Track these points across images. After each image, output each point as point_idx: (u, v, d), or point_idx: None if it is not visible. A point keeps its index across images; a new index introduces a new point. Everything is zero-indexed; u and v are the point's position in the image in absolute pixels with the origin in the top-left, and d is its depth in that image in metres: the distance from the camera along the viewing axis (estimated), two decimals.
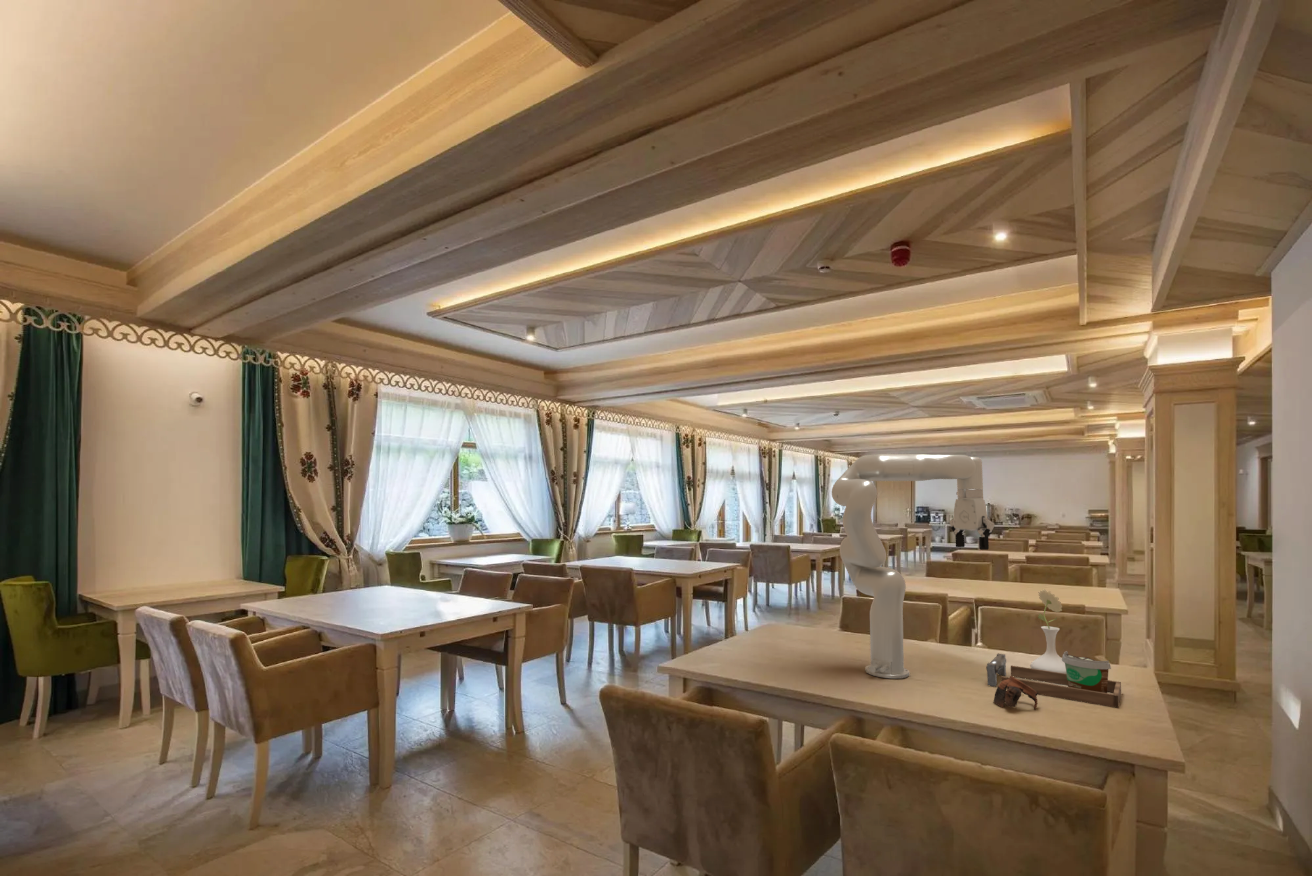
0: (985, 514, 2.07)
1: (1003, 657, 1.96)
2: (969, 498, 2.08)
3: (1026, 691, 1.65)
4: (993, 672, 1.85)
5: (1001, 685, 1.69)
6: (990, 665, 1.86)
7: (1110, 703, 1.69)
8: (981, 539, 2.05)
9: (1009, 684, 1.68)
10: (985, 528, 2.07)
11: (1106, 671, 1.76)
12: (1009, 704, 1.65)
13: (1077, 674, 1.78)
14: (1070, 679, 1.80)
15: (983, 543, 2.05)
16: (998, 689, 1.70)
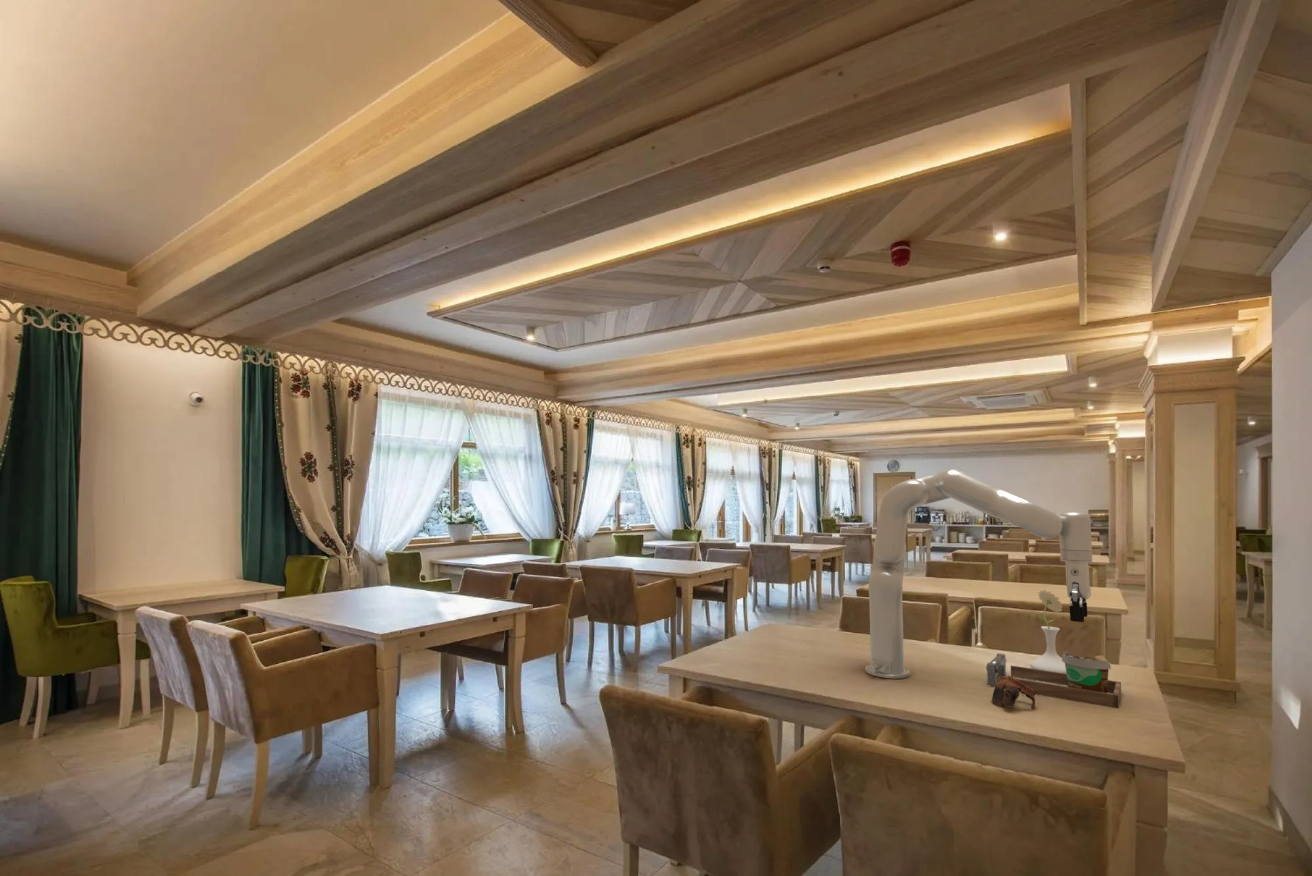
0: None
1: (1003, 657, 1.96)
2: None
3: (1024, 691, 1.66)
4: (993, 672, 1.85)
5: (999, 685, 1.70)
6: (990, 665, 1.86)
7: (1110, 703, 1.69)
8: None
9: (1007, 684, 1.68)
10: None
11: (1106, 671, 1.76)
12: (1007, 704, 1.66)
13: (1077, 674, 1.78)
14: (1070, 679, 1.80)
15: (1083, 608, 1.85)
16: (996, 689, 1.70)
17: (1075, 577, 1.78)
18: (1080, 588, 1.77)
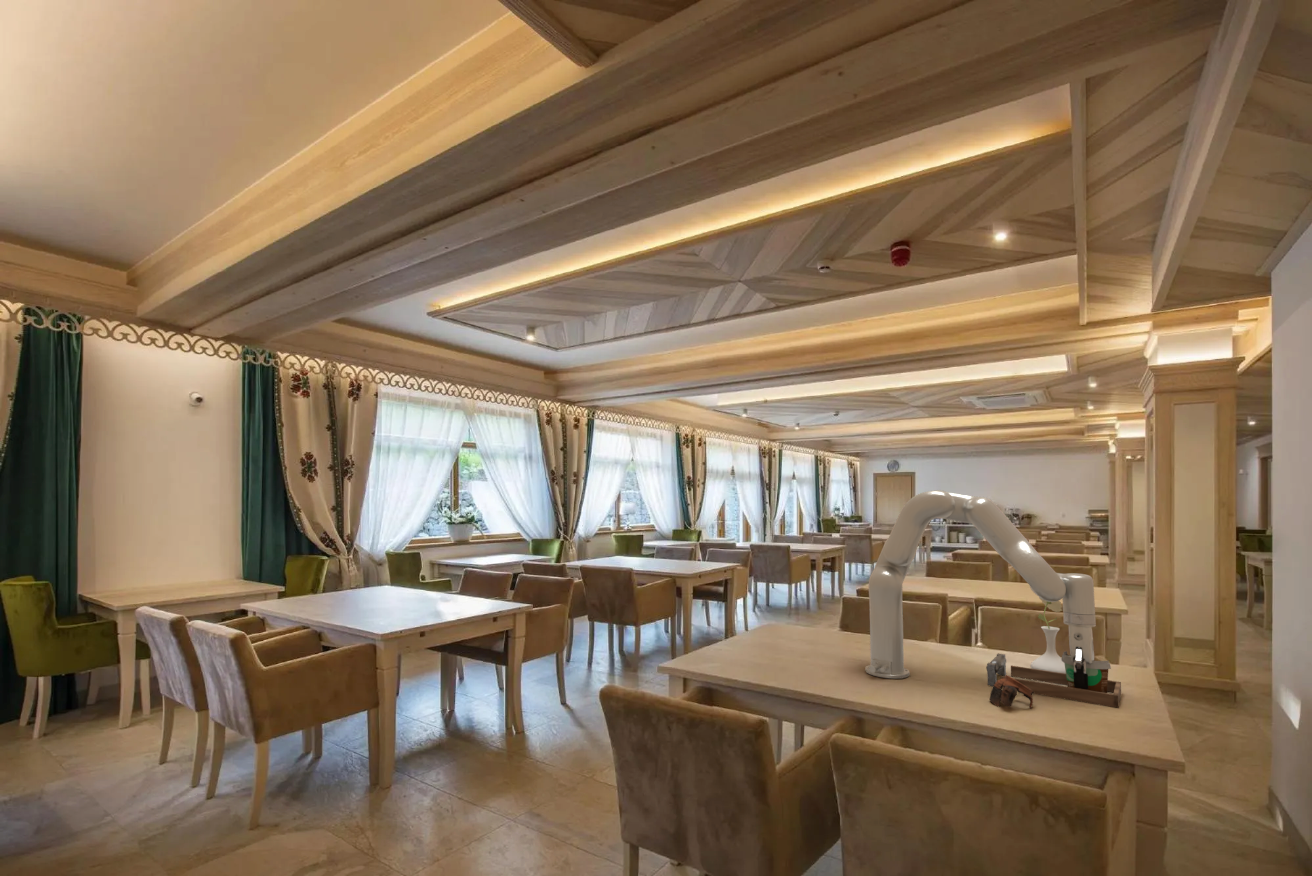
0: None
1: (1003, 657, 1.96)
2: None
3: (1022, 690, 1.66)
4: (993, 672, 1.85)
5: (997, 684, 1.70)
6: (990, 665, 1.86)
7: (1110, 703, 1.69)
8: None
9: (1005, 683, 1.68)
10: None
11: (1106, 671, 1.76)
12: (1005, 703, 1.66)
13: None
14: (1070, 679, 1.80)
15: None
16: (994, 688, 1.71)
17: (1078, 641, 1.76)
18: (1083, 653, 1.75)
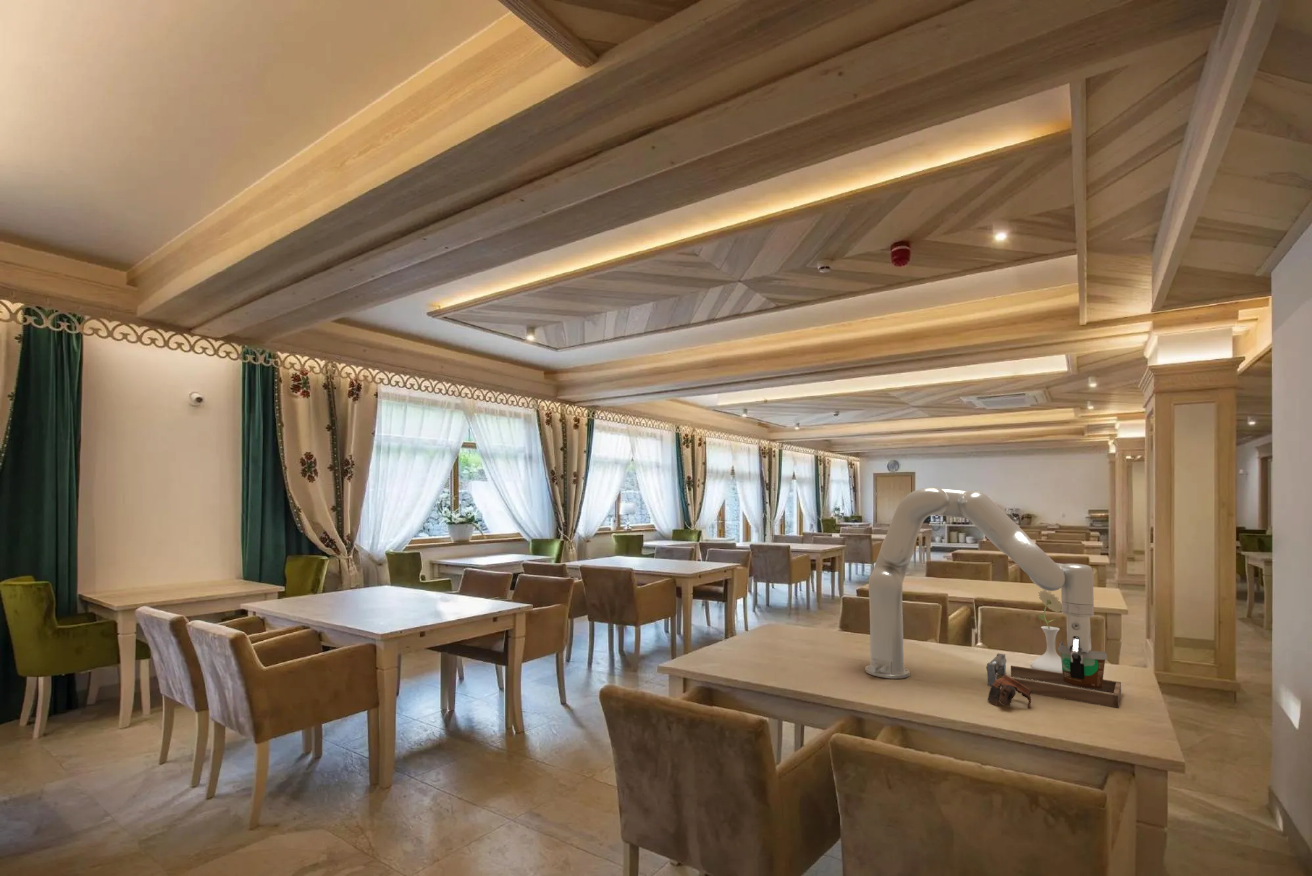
0: None
1: (1003, 657, 1.96)
2: None
3: (1020, 690, 1.67)
4: (993, 672, 1.85)
5: (995, 684, 1.70)
6: (990, 665, 1.86)
7: (1110, 703, 1.69)
8: None
9: (1003, 683, 1.69)
10: None
11: (1103, 661, 1.76)
12: (1003, 703, 1.66)
13: None
14: (1066, 669, 1.80)
15: None
16: (992, 688, 1.71)
17: (1076, 631, 1.77)
18: (1081, 642, 1.76)
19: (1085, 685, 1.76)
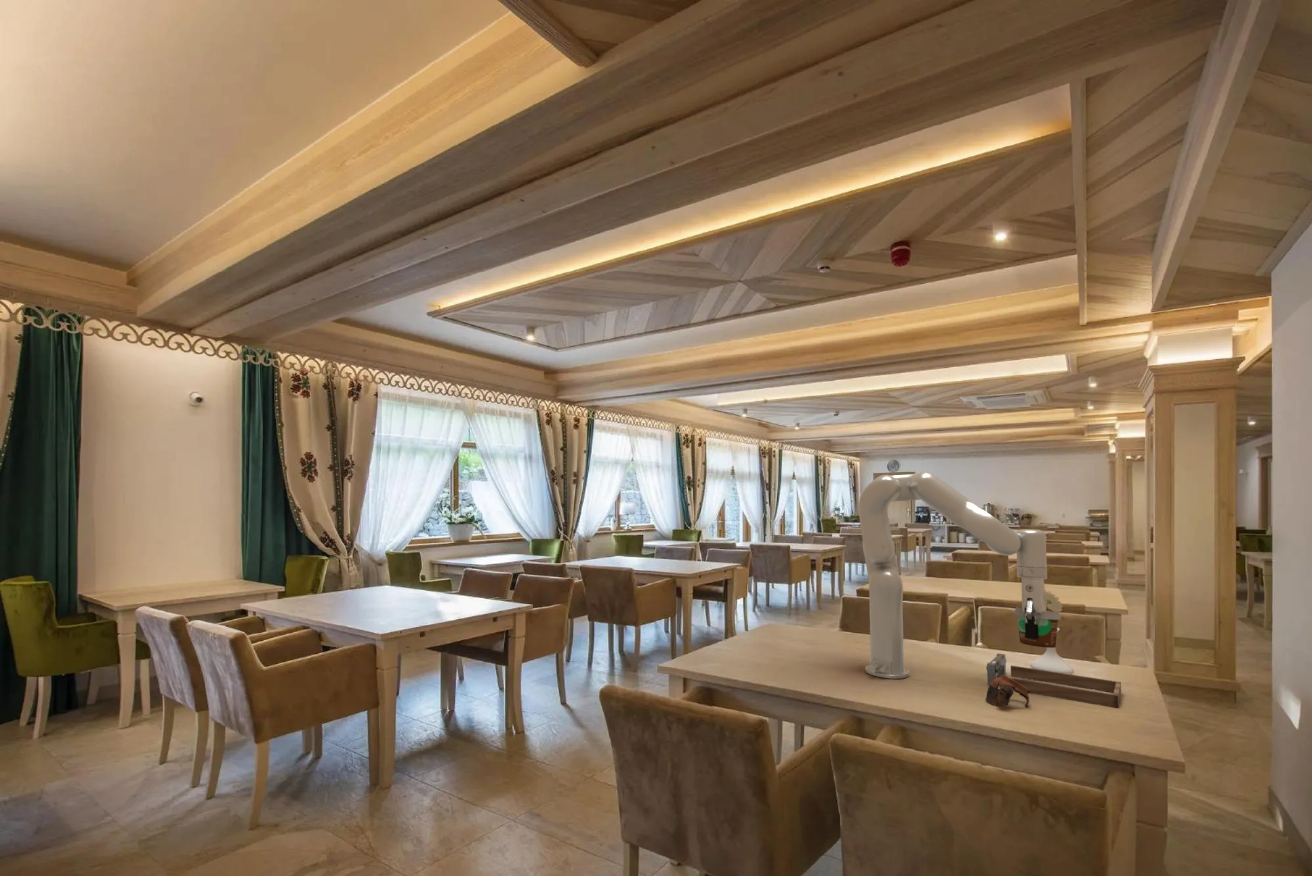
0: None
1: (1003, 657, 1.96)
2: None
3: (1018, 689, 1.67)
4: (993, 672, 1.85)
5: (993, 683, 1.71)
6: (990, 665, 1.86)
7: (1110, 703, 1.69)
8: None
9: (1001, 682, 1.69)
10: None
11: (1056, 622, 1.83)
12: (1001, 702, 1.67)
13: None
14: (1022, 630, 1.87)
15: None
16: (990, 687, 1.71)
17: (1030, 593, 1.84)
18: (1034, 604, 1.83)
19: (1039, 644, 1.83)
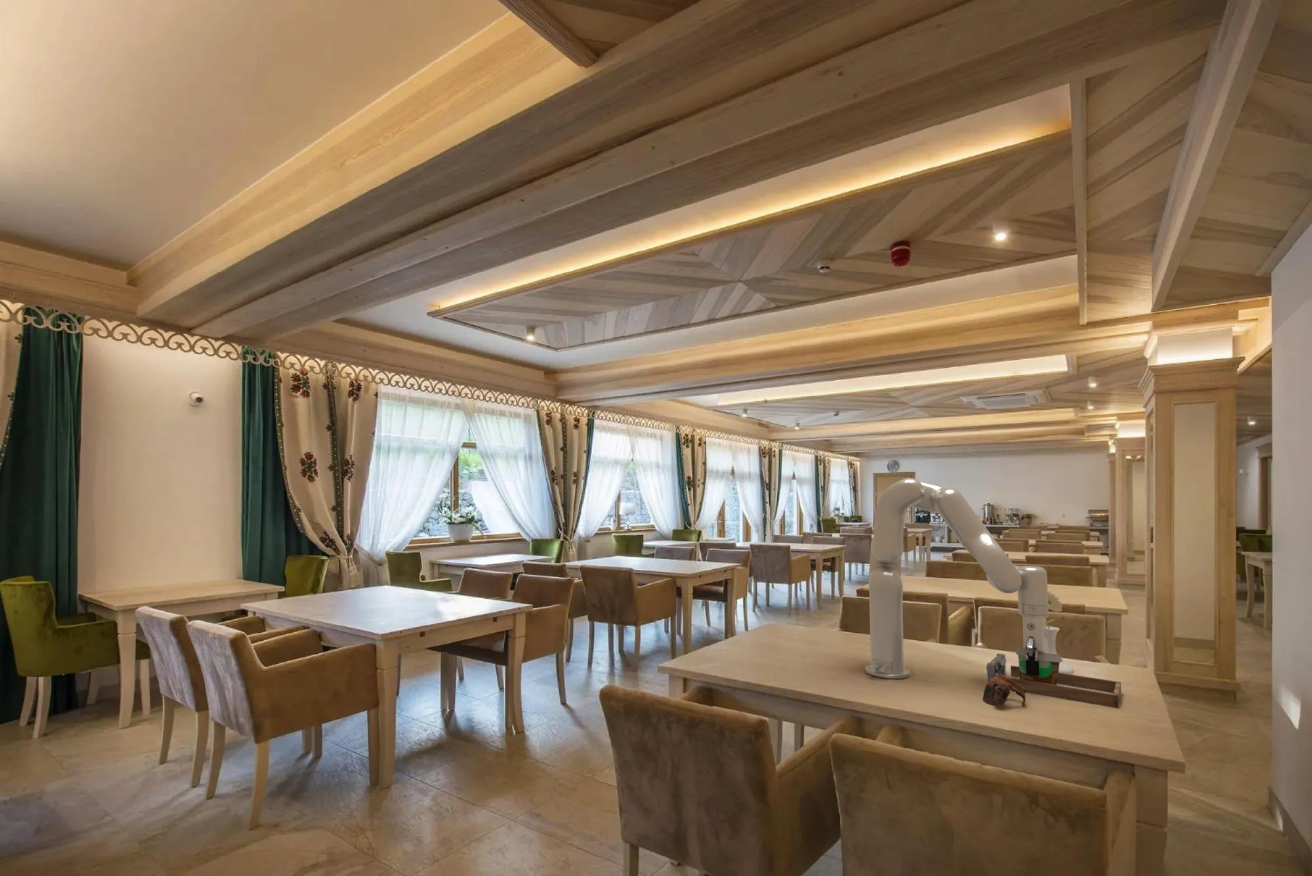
0: None
1: (1003, 657, 1.96)
2: None
3: (1015, 688, 1.68)
4: (993, 672, 1.85)
5: (990, 682, 1.71)
6: (990, 665, 1.86)
7: (1110, 703, 1.69)
8: None
9: (998, 681, 1.70)
10: None
11: (1057, 664, 1.82)
12: (998, 701, 1.67)
13: None
14: (1023, 671, 1.86)
15: None
16: (987, 686, 1.72)
17: (1031, 631, 1.83)
18: (1036, 642, 1.82)
19: None
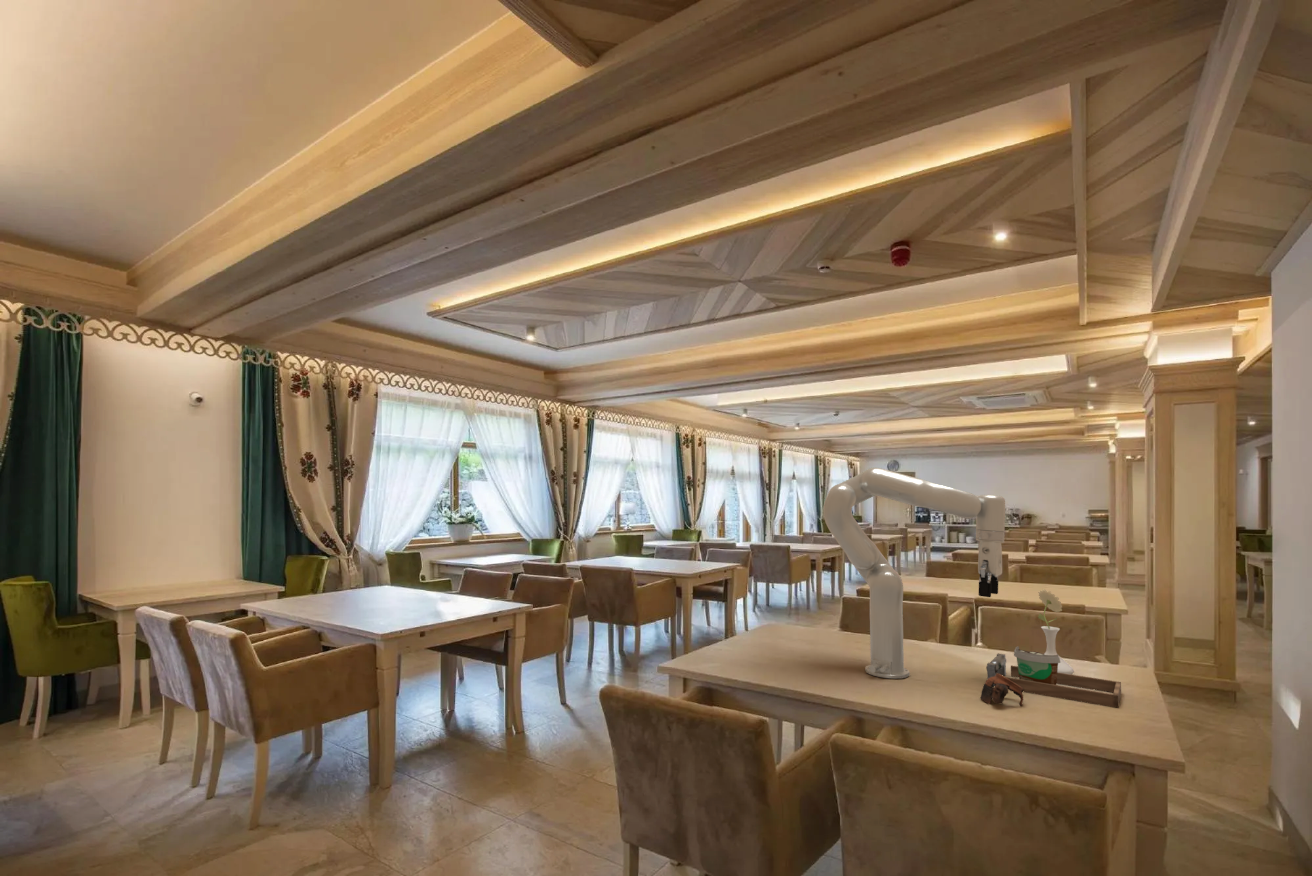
0: None
1: (1003, 657, 1.96)
2: None
3: (1012, 688, 1.68)
4: (993, 672, 1.85)
5: (988, 682, 1.72)
6: (990, 665, 1.86)
7: (1110, 703, 1.69)
8: None
9: (996, 681, 1.70)
10: None
11: (1056, 665, 1.82)
12: (996, 701, 1.68)
13: (1029, 668, 1.83)
14: (1022, 673, 1.86)
15: None
16: (985, 686, 1.72)
17: (986, 555, 1.90)
18: (989, 565, 1.89)
19: None
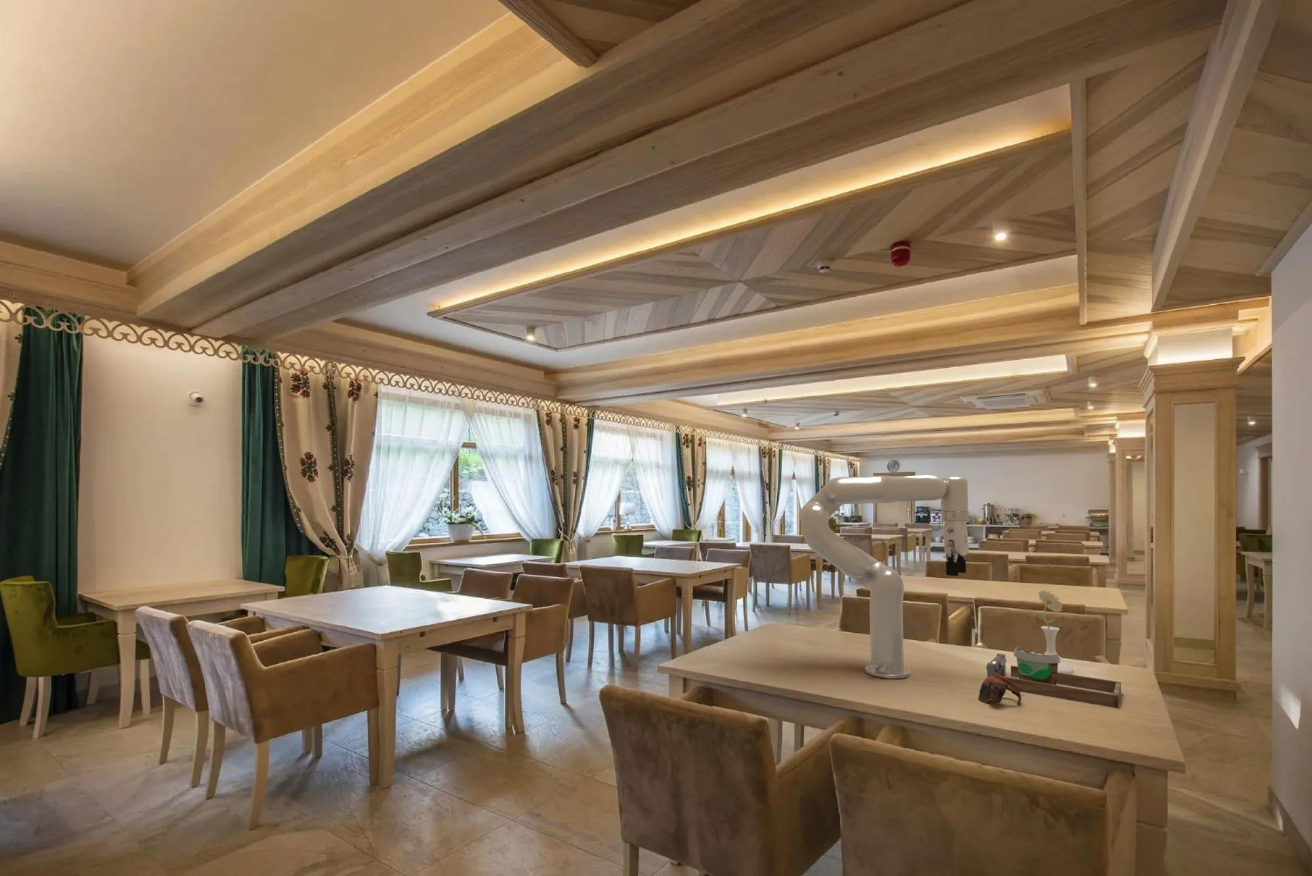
0: None
1: (1003, 657, 1.96)
2: None
3: (1010, 687, 1.69)
4: (993, 672, 1.85)
5: (986, 682, 1.72)
6: (990, 665, 1.86)
7: (1110, 703, 1.69)
8: None
9: (994, 680, 1.71)
10: None
11: (1056, 665, 1.82)
12: (994, 700, 1.68)
13: (1029, 668, 1.83)
14: (1022, 673, 1.86)
15: None
16: (983, 686, 1.73)
17: (951, 535, 1.94)
18: (955, 545, 1.93)
19: None
